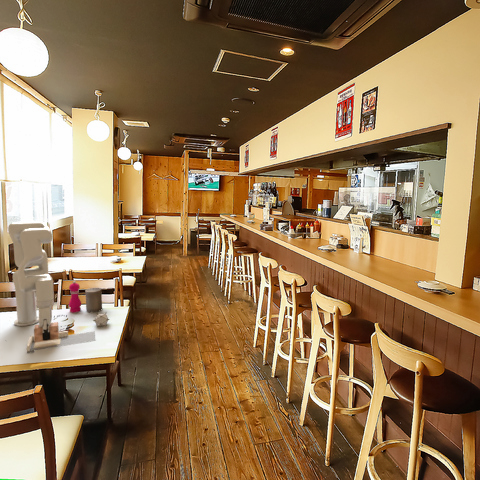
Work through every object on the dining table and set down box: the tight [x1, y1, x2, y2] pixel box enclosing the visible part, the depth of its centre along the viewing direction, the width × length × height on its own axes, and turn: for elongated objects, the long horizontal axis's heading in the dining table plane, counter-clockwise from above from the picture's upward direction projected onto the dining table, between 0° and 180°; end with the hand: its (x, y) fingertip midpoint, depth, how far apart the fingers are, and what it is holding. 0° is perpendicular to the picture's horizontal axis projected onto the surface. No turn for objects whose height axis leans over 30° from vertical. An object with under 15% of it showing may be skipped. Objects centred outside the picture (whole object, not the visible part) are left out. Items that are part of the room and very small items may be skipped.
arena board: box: [26, 330, 97, 354], centre depth 167 cm, size 12×30×4 cm, turn 116°
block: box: [33, 321, 60, 342], centre depth 162 cm, size 10×5×7 cm, turn 116°
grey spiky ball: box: [92, 312, 111, 327], centre depth 187 cm, size 9×8×10 cm
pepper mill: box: [68, 280, 82, 314], centre depth 208 cm, size 7×7×20 cm
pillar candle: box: [84, 287, 103, 313], centre depth 212 cm, size 10×10×15 cm
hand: (47, 337), depth 163 cm, fingers closed on block, 5 cm apart
